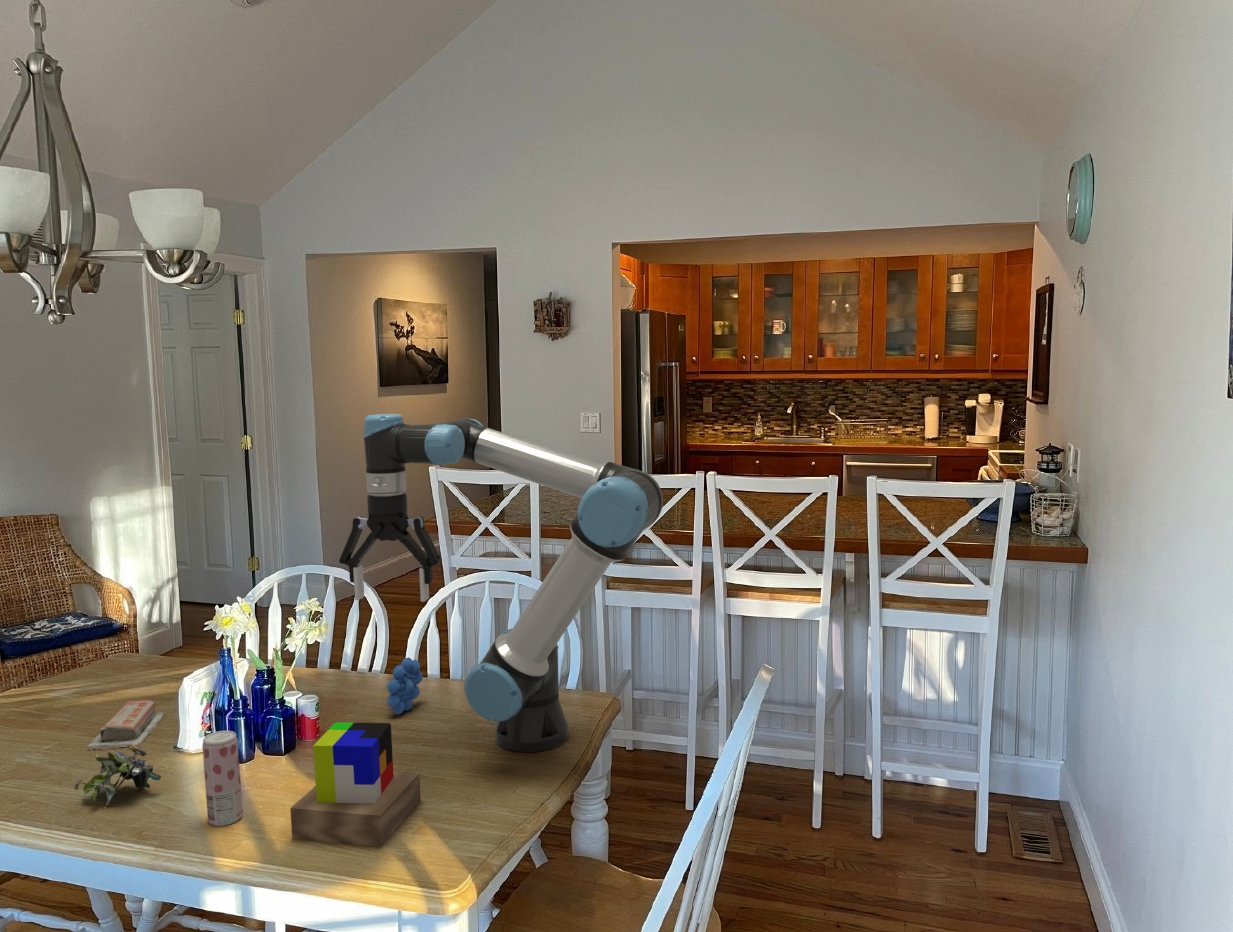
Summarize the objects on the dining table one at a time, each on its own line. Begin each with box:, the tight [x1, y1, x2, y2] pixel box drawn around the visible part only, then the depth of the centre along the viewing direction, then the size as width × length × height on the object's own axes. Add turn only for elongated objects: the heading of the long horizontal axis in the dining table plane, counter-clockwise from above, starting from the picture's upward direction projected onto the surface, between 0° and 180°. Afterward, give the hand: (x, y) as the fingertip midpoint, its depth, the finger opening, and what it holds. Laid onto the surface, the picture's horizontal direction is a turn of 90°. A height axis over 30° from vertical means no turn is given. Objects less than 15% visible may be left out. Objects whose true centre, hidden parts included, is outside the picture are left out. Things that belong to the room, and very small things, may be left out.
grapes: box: [386, 657, 424, 715], centre depth 214 cm, size 12×7×12 cm, turn 155°
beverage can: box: [202, 730, 244, 827], centre depth 165 cm, size 6×6×15 cm
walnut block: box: [289, 770, 422, 848], centre depth 165 cm, size 16×16×6 cm
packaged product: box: [88, 699, 166, 750], centre depth 206 cm, size 18×5×10 cm
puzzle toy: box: [312, 721, 394, 804], centre depth 164 cm, size 10×10×10 cm
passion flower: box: [74, 745, 162, 808], centre depth 174 cm, size 11×11×12 cm
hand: (392, 599), depth 189 cm, fingers open, 13 cm apart
